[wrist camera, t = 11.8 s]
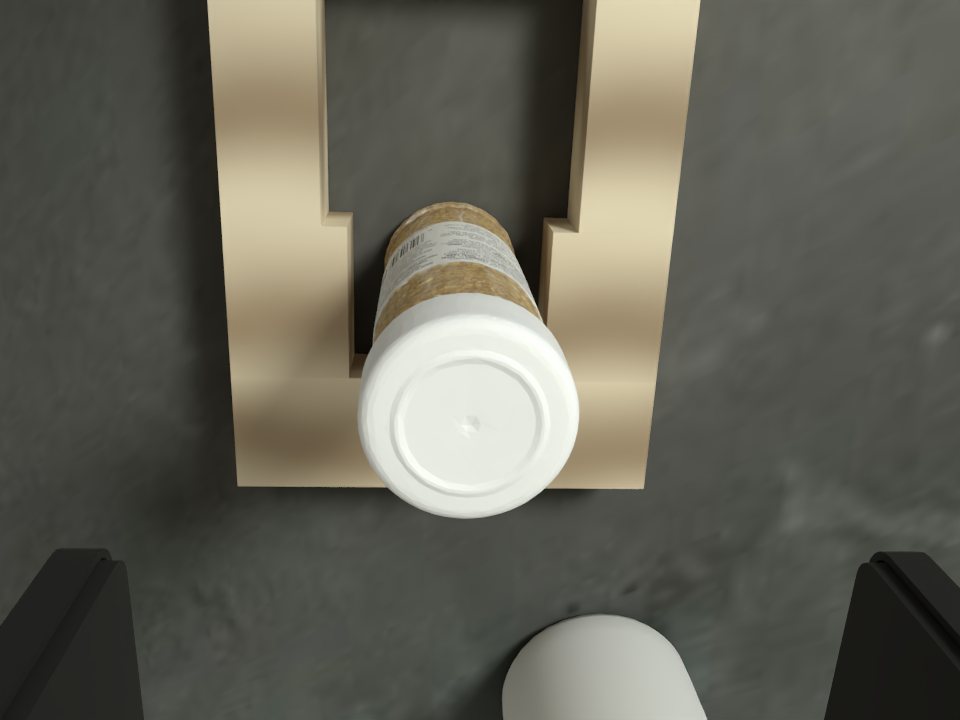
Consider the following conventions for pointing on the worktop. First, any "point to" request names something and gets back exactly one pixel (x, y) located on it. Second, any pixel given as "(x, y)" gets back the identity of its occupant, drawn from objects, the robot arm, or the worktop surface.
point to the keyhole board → (329, 241)
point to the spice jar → (462, 372)
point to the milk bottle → (599, 674)
